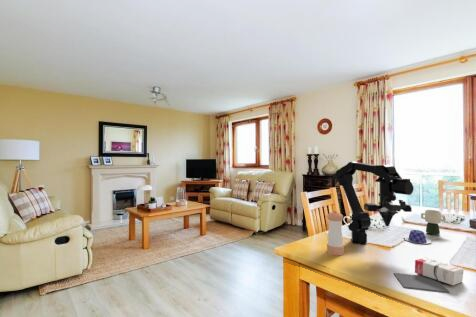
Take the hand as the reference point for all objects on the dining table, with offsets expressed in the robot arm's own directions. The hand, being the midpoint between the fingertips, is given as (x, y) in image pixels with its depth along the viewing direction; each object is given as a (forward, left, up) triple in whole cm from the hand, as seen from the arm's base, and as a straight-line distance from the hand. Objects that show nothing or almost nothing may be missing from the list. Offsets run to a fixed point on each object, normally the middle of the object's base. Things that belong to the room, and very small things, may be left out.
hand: (387, 226), depth 118 cm
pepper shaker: (-23, -6, -12) cm, 27 cm away
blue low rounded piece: (+20, +22, -13) cm, 32 cm away
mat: (+2, -29, -12) cm, 31 cm away
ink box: (+6, -19, -9) cm, 22 cm away
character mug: (+33, +37, -12) cm, 51 cm away
